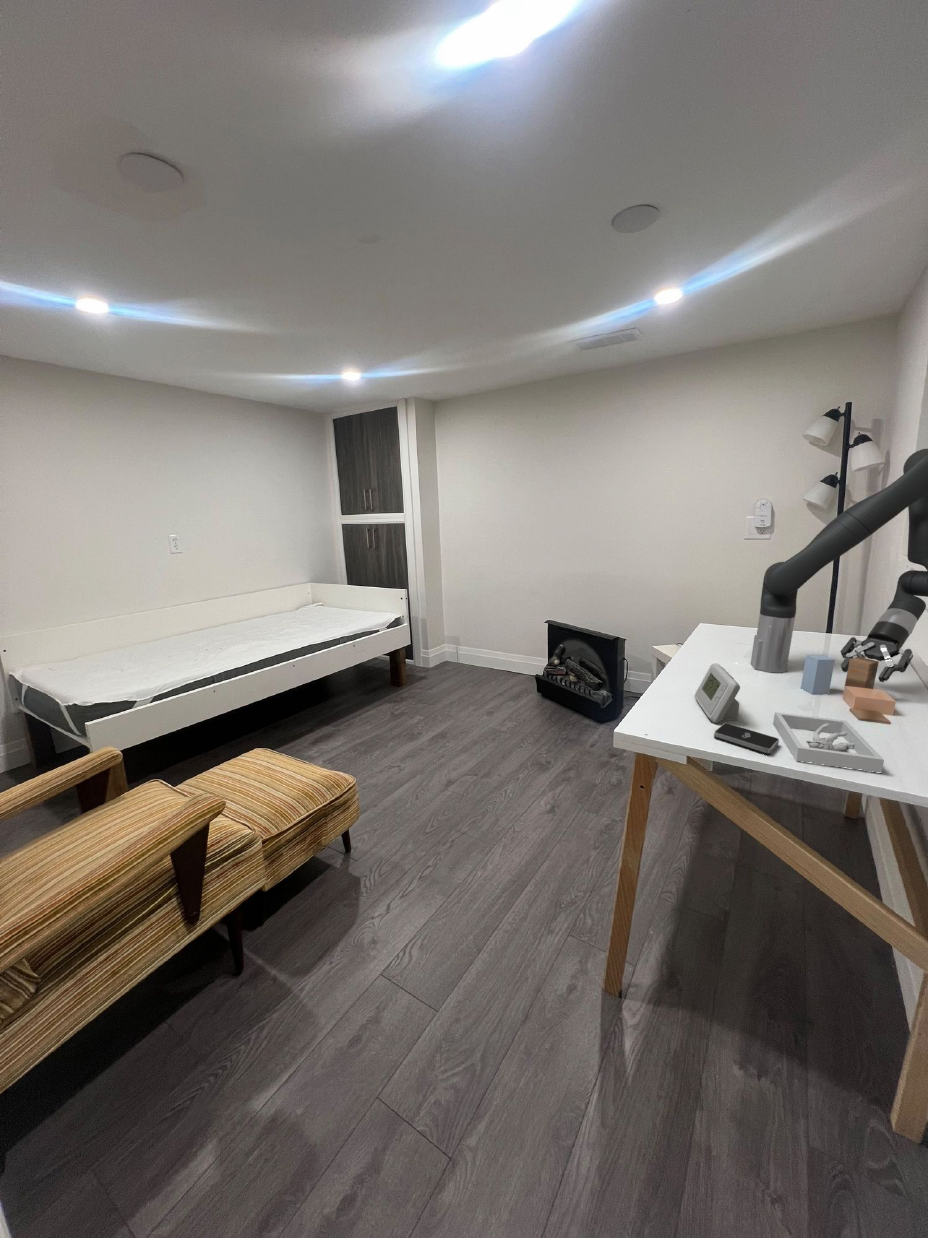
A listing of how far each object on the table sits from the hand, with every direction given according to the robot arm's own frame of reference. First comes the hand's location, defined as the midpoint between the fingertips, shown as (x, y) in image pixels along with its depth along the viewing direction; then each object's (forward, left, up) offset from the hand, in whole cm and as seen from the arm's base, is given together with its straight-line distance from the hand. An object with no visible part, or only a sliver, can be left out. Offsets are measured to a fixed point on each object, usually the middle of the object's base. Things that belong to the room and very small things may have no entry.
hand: (861, 675), depth 129 cm
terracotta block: (-1, -8, -6) cm, 10 cm away
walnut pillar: (0, 0, -6) cm, 6 cm away
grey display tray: (-19, -36, -6) cm, 42 cm away
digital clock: (-38, -24, -6) cm, 46 cm away
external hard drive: (-34, -39, -6) cm, 52 cm away
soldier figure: (-18, -38, -6) cm, 43 cm away
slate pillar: (-10, 0, -6) cm, 12 cm away
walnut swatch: (-3, -15, -6) cm, 17 cm away
